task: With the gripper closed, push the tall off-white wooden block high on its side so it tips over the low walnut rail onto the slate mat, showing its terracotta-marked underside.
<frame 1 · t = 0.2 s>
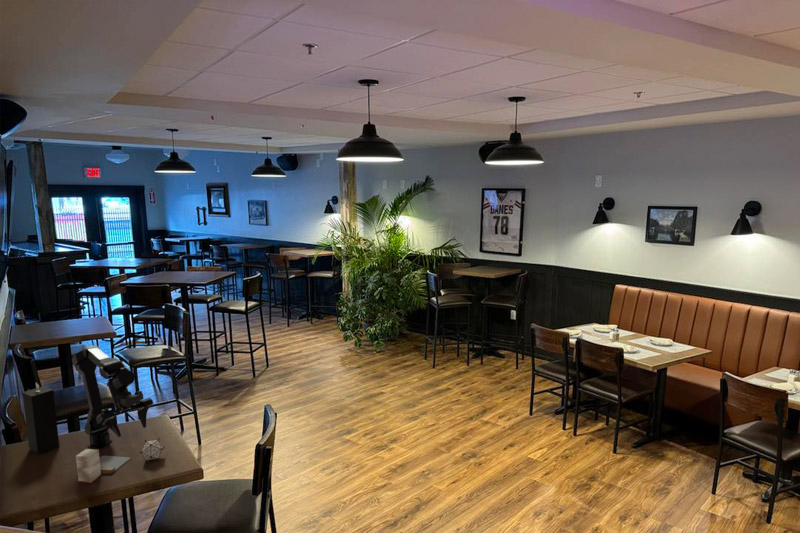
hand: (132, 432, 186), 15 cm above the table, tool tilted 30°, fingers open, 9 cm apart
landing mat: (109, 463, 193), on the table
stop rail: (98, 471, 188), on the table
marked block: (89, 478, 183), on the table
game die: (153, 459, 196), on the table
tall black block: (44, 449, 204), on the table
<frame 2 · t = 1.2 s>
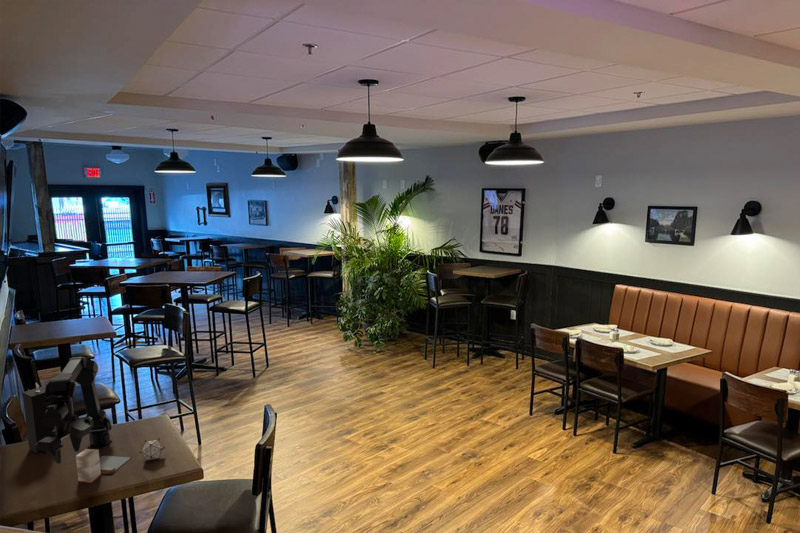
hand: (67, 457, 172), 13 cm above the table, tool pointing down, fingers open, 8 cm apart
nothing on the table moved.
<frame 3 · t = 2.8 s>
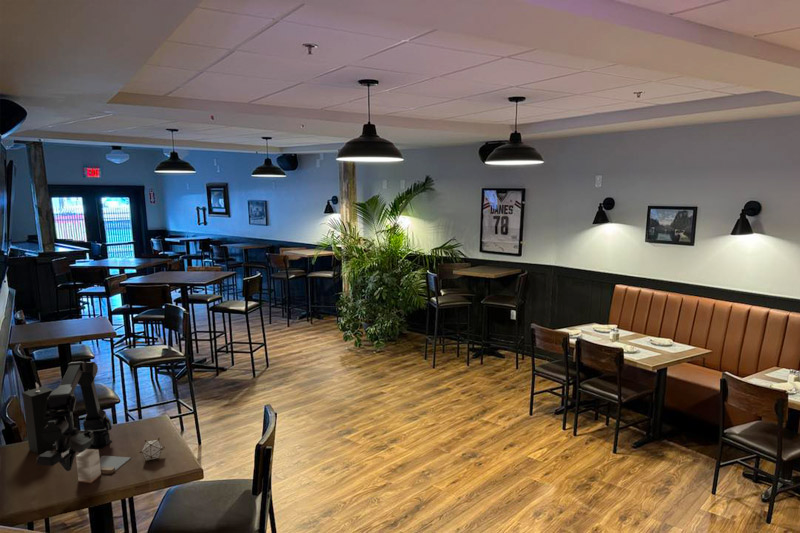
hand: (68, 470, 173), 8 cm above the table, tool pointing down, fingers closed
nothing on the table moved.
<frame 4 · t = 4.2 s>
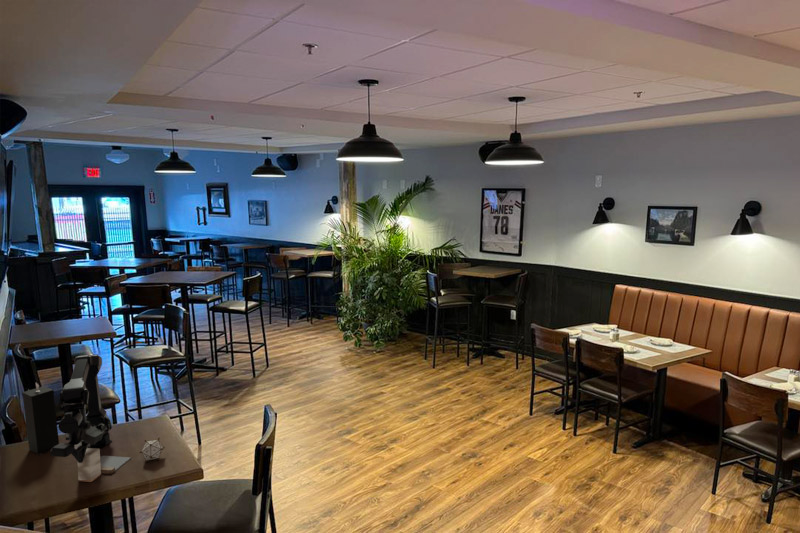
hand: (80, 462, 179), 8 cm above the table, tool pointing down, fingers closed
marked block: (89, 477, 183), on the table, touching gripper
everything else where it was.
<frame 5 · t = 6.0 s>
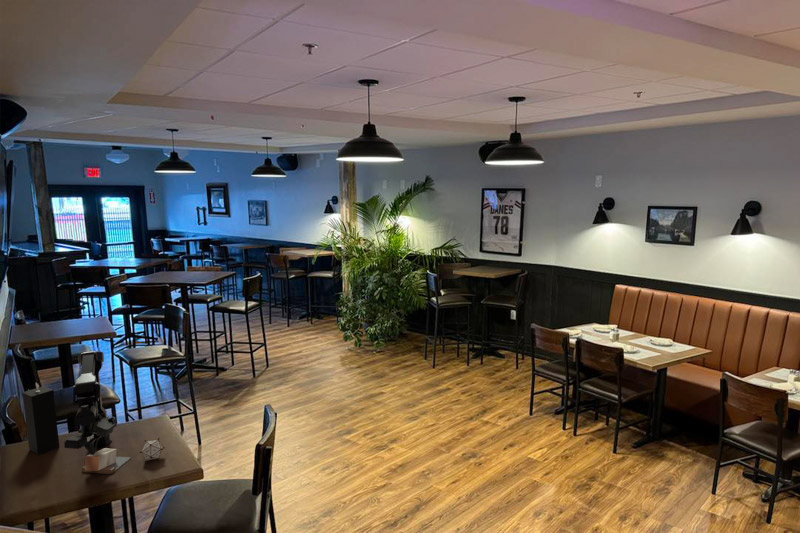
hand: (92, 454, 184), 8 cm above the table, tool pointing down, fingers closed
marked block: (91, 463, 184), point 5 cm above the table, tilted 102°, touching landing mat, stop rail
everything else where it was.
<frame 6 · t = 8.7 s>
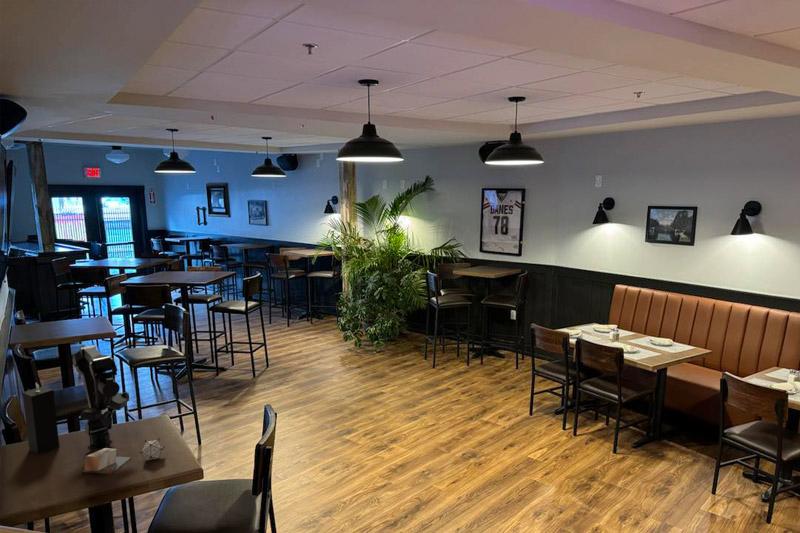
hand: (107, 426, 196), 13 cm above the table, tool pointing down, fingers closed
nothing on the table moved.
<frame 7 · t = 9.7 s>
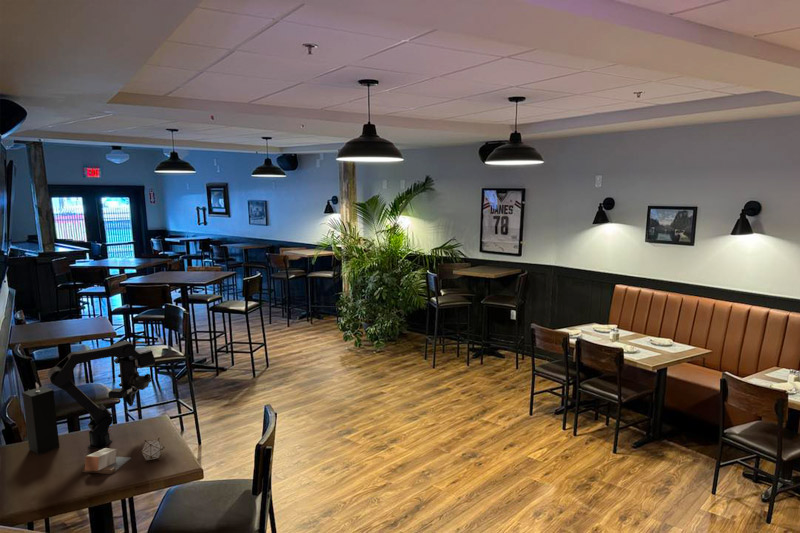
hand: (131, 405, 214), 13 cm above the table, tool pointing down, fingers closed
nothing on the table moved.
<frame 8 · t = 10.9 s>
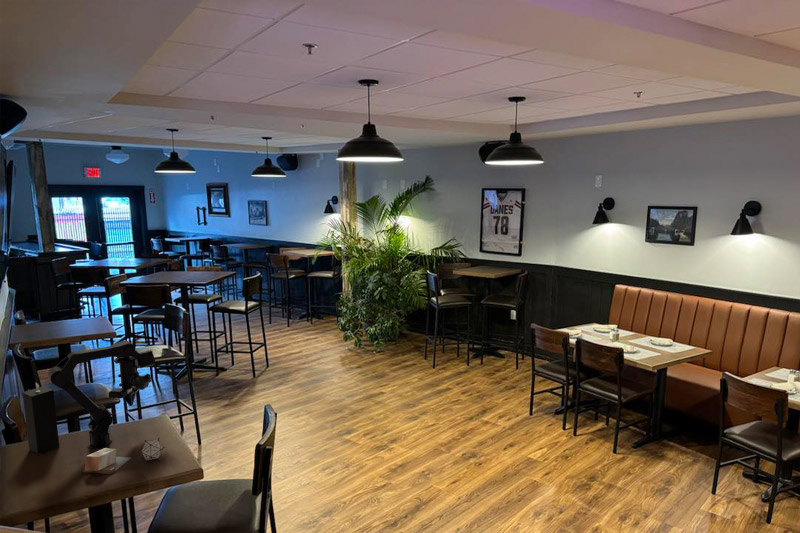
hand: (130, 405, 214), 13 cm above the table, tool pointing down, fingers closed
nothing on the table moved.
at the end: marked block tilted 102°; marked block touching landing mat, stop rail; marked block inside the target area (4.6 cm from its centre), point 4.9 cm above the table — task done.
